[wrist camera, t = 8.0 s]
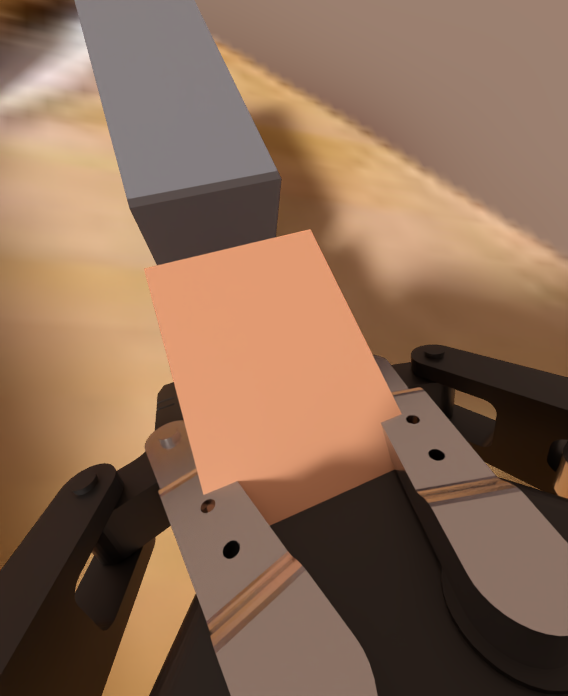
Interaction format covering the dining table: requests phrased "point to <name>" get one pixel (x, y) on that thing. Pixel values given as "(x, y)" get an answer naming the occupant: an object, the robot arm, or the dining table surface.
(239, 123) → the gray block
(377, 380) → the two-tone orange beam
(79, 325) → the dining table surface
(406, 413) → the robot arm
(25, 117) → the dining table surface
